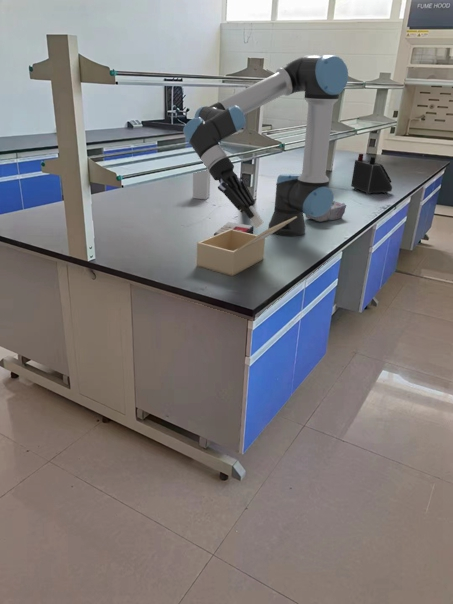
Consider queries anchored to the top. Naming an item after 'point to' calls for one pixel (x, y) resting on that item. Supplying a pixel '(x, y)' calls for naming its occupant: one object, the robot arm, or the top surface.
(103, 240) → the top surface
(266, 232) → the lid
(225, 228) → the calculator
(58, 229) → the top surface
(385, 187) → the voltmeter
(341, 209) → the grey rock
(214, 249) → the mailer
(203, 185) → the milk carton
